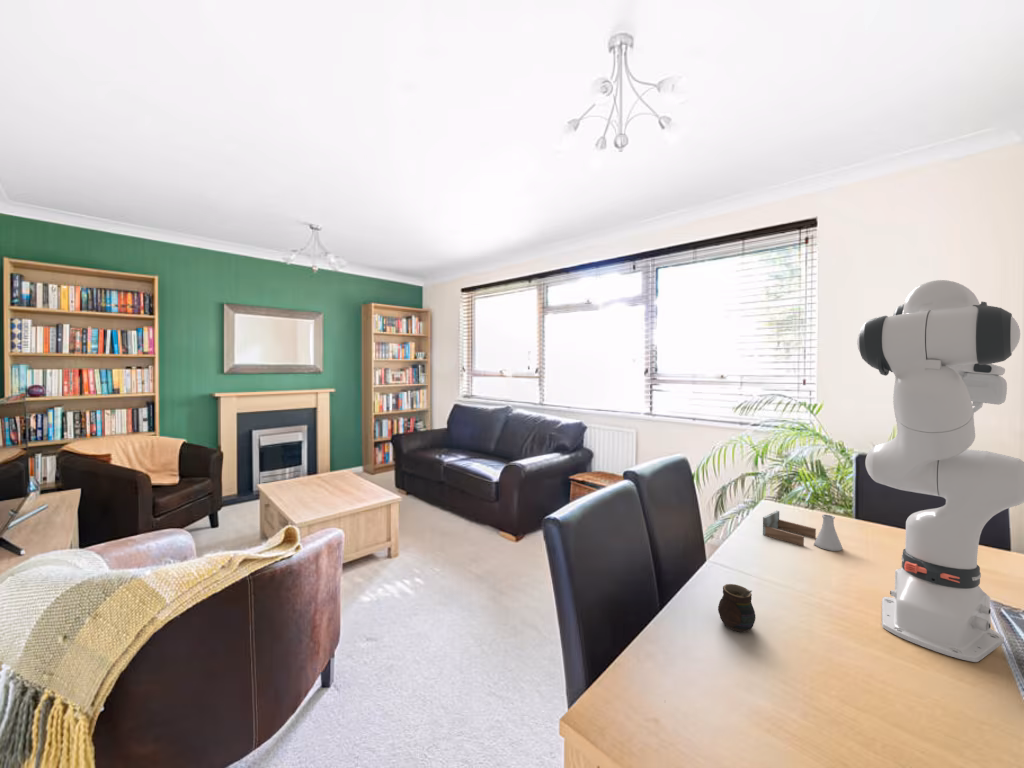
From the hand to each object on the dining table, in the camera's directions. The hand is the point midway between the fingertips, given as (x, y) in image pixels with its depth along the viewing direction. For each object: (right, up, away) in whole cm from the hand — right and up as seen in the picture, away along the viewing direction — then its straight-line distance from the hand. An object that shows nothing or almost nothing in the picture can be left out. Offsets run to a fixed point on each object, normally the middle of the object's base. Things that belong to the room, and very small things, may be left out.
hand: (942, 414), depth 112 cm
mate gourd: (-69, -45, -23) cm, 85 cm away
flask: (-17, -44, +18) cm, 51 cm away
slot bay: (-24, -44, +27) cm, 57 cm away
